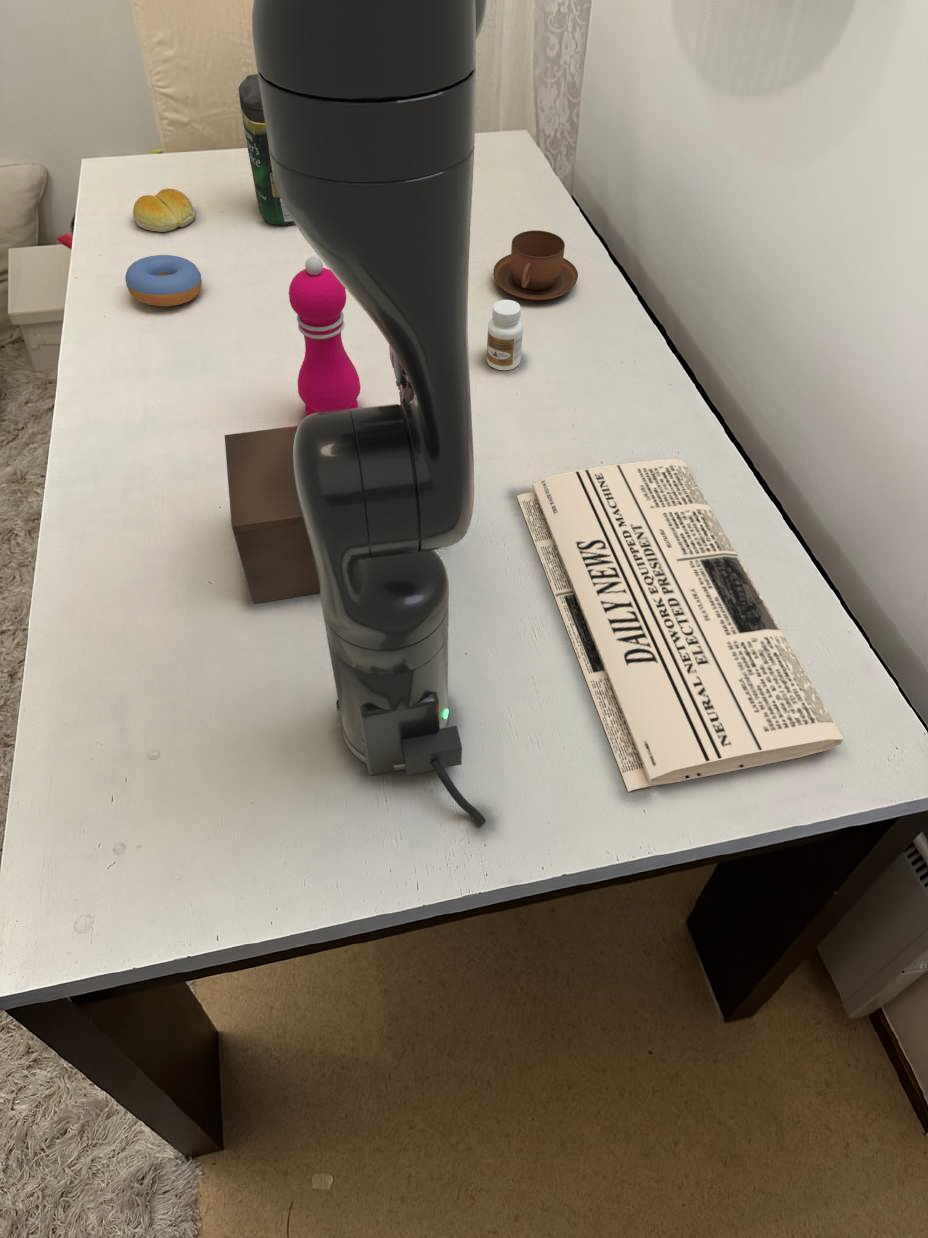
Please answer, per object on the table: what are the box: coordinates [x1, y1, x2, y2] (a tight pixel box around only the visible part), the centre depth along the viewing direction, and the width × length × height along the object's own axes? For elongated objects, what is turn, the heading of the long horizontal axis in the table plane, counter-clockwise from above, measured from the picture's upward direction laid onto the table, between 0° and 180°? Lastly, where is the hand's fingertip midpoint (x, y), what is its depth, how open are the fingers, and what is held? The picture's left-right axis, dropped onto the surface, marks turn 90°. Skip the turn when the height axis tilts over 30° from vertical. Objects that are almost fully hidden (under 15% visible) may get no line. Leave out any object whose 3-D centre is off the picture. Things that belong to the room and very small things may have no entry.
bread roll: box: [132, 188, 197, 233], centre depth 129 cm, size 8×9×4 cm
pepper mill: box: [288, 256, 361, 417], centre depth 94 cm, size 7×7×20 cm
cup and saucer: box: [492, 229, 579, 301], centre depth 118 cm, size 12×12×6 cm
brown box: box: [224, 425, 320, 604], centre depth 84 cm, size 15×13×11 cm
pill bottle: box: [486, 299, 524, 371], centre depth 106 cm, size 4×4×8 cm
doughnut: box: [124, 254, 203, 307], centre depth 115 cm, size 10×10×5 cm
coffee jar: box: [238, 73, 295, 226], centre depth 125 cm, size 10×8×19 cm
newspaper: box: [516, 458, 844, 792], centre depth 83 cm, size 37×19×3 cm, turn 13°
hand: (414, 426), depth 79 cm, fingers closed
